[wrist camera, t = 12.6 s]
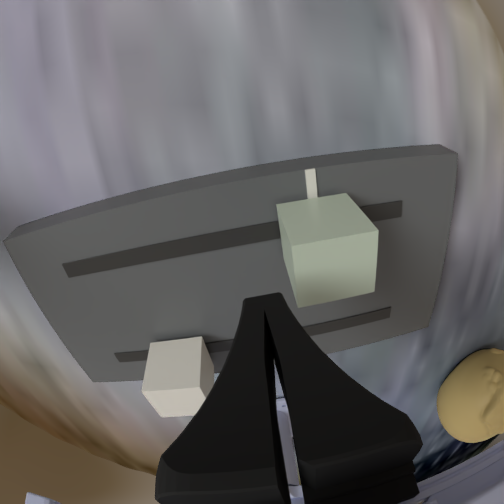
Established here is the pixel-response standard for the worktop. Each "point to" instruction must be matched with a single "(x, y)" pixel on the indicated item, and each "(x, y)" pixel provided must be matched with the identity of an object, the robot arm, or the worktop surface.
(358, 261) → the sage fader
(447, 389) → the sculpture
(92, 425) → the worktop surface
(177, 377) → the cream fader
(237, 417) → the robot arm
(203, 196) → the mixer console
